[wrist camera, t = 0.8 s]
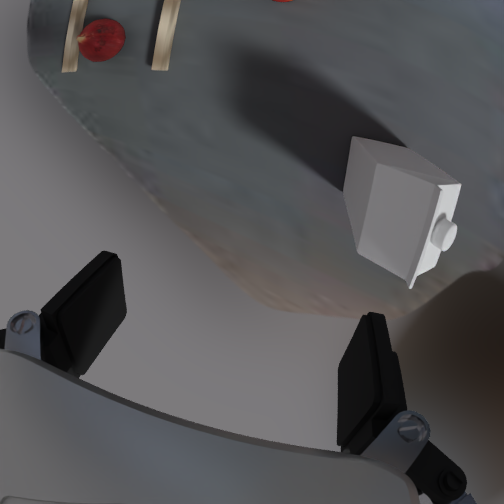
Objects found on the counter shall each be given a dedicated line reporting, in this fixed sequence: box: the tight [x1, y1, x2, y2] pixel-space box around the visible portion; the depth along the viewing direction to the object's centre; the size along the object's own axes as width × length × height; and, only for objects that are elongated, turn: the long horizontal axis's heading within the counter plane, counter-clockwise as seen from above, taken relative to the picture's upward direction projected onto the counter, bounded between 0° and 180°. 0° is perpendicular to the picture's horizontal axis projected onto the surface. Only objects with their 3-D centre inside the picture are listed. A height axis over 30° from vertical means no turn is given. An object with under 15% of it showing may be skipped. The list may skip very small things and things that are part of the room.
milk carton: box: [343, 136, 461, 289], centre depth 26 cm, size 7×7×19 cm
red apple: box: [76, 19, 126, 62], centre depth 28 cm, size 6×6×8 cm
